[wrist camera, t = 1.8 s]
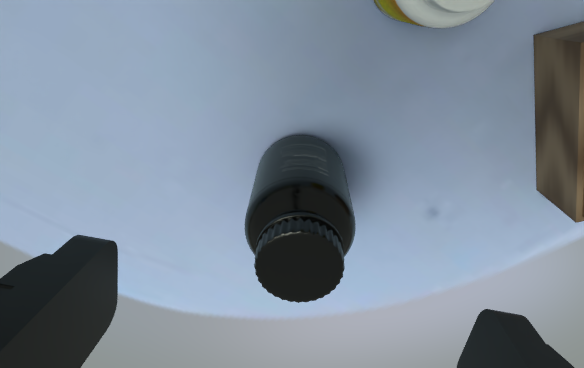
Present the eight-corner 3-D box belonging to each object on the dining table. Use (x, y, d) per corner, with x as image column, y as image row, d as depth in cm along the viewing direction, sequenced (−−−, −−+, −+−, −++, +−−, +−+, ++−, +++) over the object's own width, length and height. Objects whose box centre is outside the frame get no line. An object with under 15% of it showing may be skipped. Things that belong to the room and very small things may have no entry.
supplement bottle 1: (241, 180, 32) (208, 275, 21) (292, 115, 29) (284, 184, 18) (308, 225, 33) (309, 335, 22) (362, 167, 31) (392, 259, 20)
